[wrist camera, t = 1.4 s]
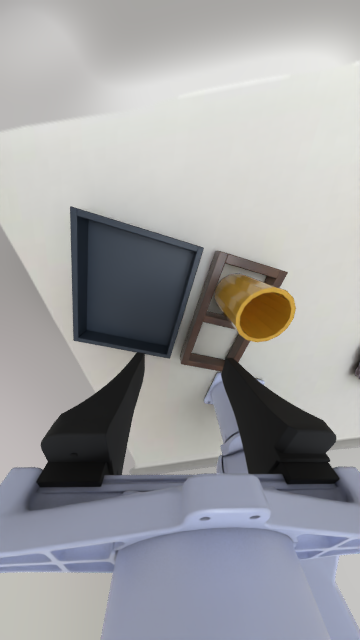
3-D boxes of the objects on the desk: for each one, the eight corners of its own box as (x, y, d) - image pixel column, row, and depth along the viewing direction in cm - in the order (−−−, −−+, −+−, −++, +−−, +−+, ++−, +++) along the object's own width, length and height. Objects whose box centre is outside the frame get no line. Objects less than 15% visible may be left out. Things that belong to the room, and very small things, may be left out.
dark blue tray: (199, 247, 18) (203, 247, 16) (170, 347, 25) (169, 358, 22) (85, 212, 16) (69, 206, 14) (84, 330, 23) (73, 340, 20)
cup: (260, 279, 20) (307, 296, 13) (242, 315, 23) (275, 346, 15) (223, 268, 20) (252, 280, 12) (208, 306, 22) (226, 335, 15)
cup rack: (277, 270, 20) (288, 272, 18) (228, 365, 27) (232, 373, 25) (215, 250, 19) (220, 251, 17) (180, 355, 25) (180, 364, 24)
